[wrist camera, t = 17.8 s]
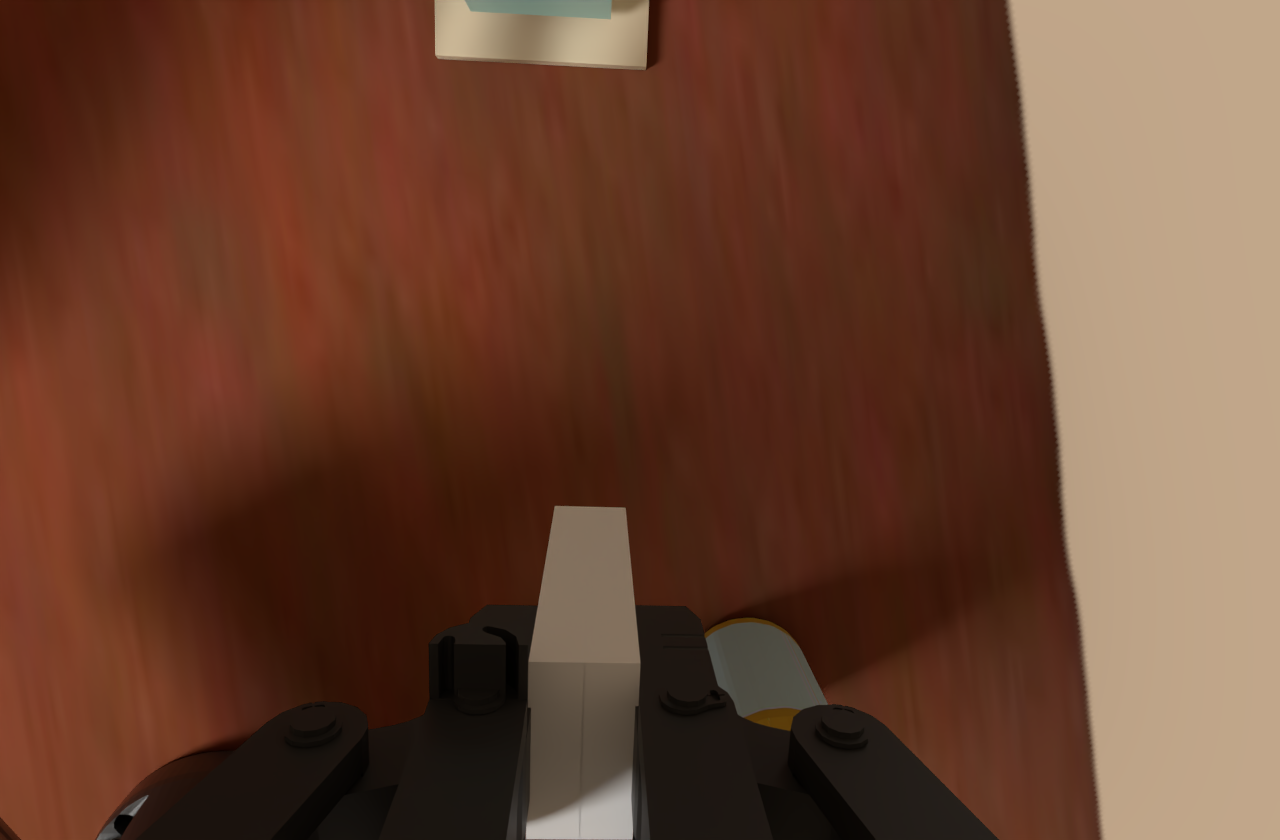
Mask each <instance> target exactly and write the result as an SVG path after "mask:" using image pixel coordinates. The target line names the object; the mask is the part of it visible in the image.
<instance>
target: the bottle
mask: <svg viewBox="0 0 1280 840" xmlns="http://www.w3.org/2000/svg"><path fill="white" fill-rule="evenodd" d="M705 638H706V642H707V646H708V650H709V653H710V657H711V661H712V665H713V668H714V672H715V676H716V680H717V684H718V686H719V687H721V688H722V689H723V690H725V691H726V692H728V694H729V695H730V697H731V698H732V700H733V701H734V704H735V707H736V711H737V714H738V715H740V716H741V717H743V718H745V719H748V720H750V721H752V722H754V723H758V724H761V725H765V726H769V727H773V728H778V729H783V730H788V731H791V725H792V720H793V717H794V716H795V715H796V714H797V713H799V712H800V711H801V710H802V709H805V708H809V707H812V706H816V705H828V703H827V701H826V699H825V697H824V695H823V693H822V691H821V689H820V687H819V685H818V683H817V681H816V679H815V677H814V675H813V673H812V671H811V669H810V667H809V665H808V663H807V661H806V659H805V657H804V654H803V652H802V650H801V649H800V647H799V645H798V644H797V642H796V641H795V640H794V639H793V638H792V637H791V635H790V634H789V633H788V632H787V631H786V630H784V629H783V628H781V627H779V626H778V625H776V624H774V623H772V622H770V621H767V620H762V619H757V618H739V619H732V620H728V621H726V622H723V623H721V624H718V625H716V626H714V627H712V628H711V629H710V630H708V631H707V632H706V633H705Z"/></svg>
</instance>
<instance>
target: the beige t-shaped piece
mask: <svg viewBox="0 0 1280 840" xmlns="http://www.w3.org/2000/svg"><path fill="white" fill-rule="evenodd" d="M648 15H649V0H612V5H611V19H597V18H579V17H561V16H543V15H525V14H508V13H490V12H472V11H470V9H469V7H468V5H467V4H466V2H465V0H435V55H436V56H437V58H438V59H450V60H468V61H487V62H505V63H524V64H542V65H560V66H579V67H597V68H616V69H634V70H646V64H647V39H648Z"/></svg>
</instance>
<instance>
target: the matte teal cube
mask: <svg viewBox="0 0 1280 840" xmlns="http://www.w3.org/2000/svg"><path fill="white" fill-rule="evenodd" d="M465 2H466V4H467V5H468V7H469V9H470V11H472V12H490V13H508V14H525V15H543V16H561V17H579V18H597V19H611V5H612V0H465Z"/></svg>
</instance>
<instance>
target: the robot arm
mask: <svg viewBox="0 0 1280 840" xmlns="http://www.w3.org/2000/svg"><path fill="white" fill-rule="evenodd" d="M429 693H430V700H429V702H428V705H427V708H426V711H425V713H424V715H422V716H420V717H418V718H415V719H413V720H410V721H408V722H404V723H400V724H396V725H392V726H387V727H381V728H376V729H370V730H368V722H367V716H366V715H365V714H364V713H363V712H362V711H361V710H360V709H359V708H357V707H355V706H352V705H348V704H345V703H342V702H325V701H323V702H315V703H308V704H303V705H300V706H298V707H296V708H293V709H290V710H288V711H285V712H282V713H281V714H279V715H278V716H276V717H275V718H273V719H271V720H270V721H268V722H267V723H266V724H265V725H263V726H262V727H261V728H260V729H259V730H258V731H257V732H256V733H254V734H253V735H252V736H251V737H250V738H249V739H248V740H247V741H245V742H244V743H243V744H242V745H241V746H240V747H239V748H238V749H236V750H235V751H215V752H207V753H201V754H197V755H192V756H189V757H186V758H182V759H180V760H177V761H174V762H172V763H170V764H168V765H166V766H164V767H162V768H160V769H158V770H157V771H155V772H154V773H152V774H151V775H149V776H148V777H146V778H145V779H144V780H143V781H141V782H140V783H139V784H138V785H137V786H136V787H135V788H134V789H133V790H132V791H131V792H130V793H129V795H128V796H127V797H126V798H125V799H124V800H123V802H122V803H121V804H120V805H119V806H118V808H117V809H116V810H115V811H114V812H113V814H112V815H111V816H110V817H109V819H108V820H107V821H106V822H105V824H104V826H103V827H102V829H101V830H100V832H99V834H98V835H97V837H96V839H95V840H525V833H526V839H632V837H633V840H999V839H998V838H997V837H996V836H995V835H994V834H993V833H992V832H991V831H990V830H989V829H988V828H987V827H986V826H985V825H984V824H983V823H982V822H981V821H980V820H979V819H978V818H977V817H976V816H975V815H974V814H973V813H972V812H971V811H970V810H969V809H968V808H967V807H966V806H965V805H964V804H963V803H962V802H961V801H960V800H959V799H958V798H957V797H956V796H955V795H954V794H953V793H952V792H951V791H950V790H949V789H948V788H947V787H946V786H945V785H944V784H943V783H942V782H941V781H940V780H939V779H938V778H937V777H936V776H935V775H934V774H933V773H932V772H931V771H930V770H929V769H928V768H927V767H926V766H925V765H924V764H923V763H922V762H921V761H920V760H919V759H918V758H917V757H916V756H915V755H914V754H913V753H912V752H911V751H910V750H909V749H908V748H907V747H906V746H905V745H904V744H903V743H902V742H901V741H900V740H899V739H898V738H897V737H896V736H895V735H894V734H893V733H892V732H891V731H890V730H889V729H888V728H887V727H886V726H885V725H884V724H883V723H881V722H880V721H878V720H877V719H876V718H874V717H873V716H871V715H869V714H866V713H864V712H862V711H859V710H857V709H855V708H852V707H848V706H845V707H844V706H842V705H836V704H832V705H816V706H812V707H809V708H805V709H802V710H801V711H800V712H799V713H797V714H796V715H795V716H794V717H793V720H792V725H791V731H788V730H783V729H778V728H773V727H769V726H765V725H761V724H758V723H754V722H752V721H750V720H748V719H745V718H743V717H741V716H740V715H738V714H737V711H736V707H735V704H734V701H733V700H732V698H731V697H730V695H729V694H728V692H726V691H725V690H723V689H722V688H721V687H719V686H718V684H717V680H716V676H715V672H714V668H713V665H712V661H711V657H710V653H709V650H708V646H707V642H706V638H705V634H704V631H703V627H702V623H701V619H699V618H698V617H697V616H696V615H695V614H694V613H693V612H692V611H690V610H689V609H688V608H687V607H686V606H644V605H635V601H634V590H633V580H632V570H631V559H630V549H629V538H628V528H627V517H626V508H619V507H579V506H555V508H554V514H553V520H552V526H551V531H550V537H549V543H548V549H547V555H546V561H545V567H544V573H543V579H542V585H541V591H540V597H539V602H538V606H524V605H486V606H485V607H484V608H482V609H481V610H480V611H479V612H477V613H476V614H475V615H474V616H472V617H471V618H470V621H469V623H466V624H462V625H459V626H455V627H451V628H448V629H446V630H445V631H443V632H441V633H439V634H437V635H436V636H435V637H434V638H433V639H432V641H431V642H430V643H429ZM0 840H21V839H20V838H19V837H18V836H17V835H16V834H15V833H14V832H13V831H12V829H11V828H10V827H9V826H8V825H7V824H6V823H5V822H4V821H3V820H2V819H1V818H0Z"/></svg>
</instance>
